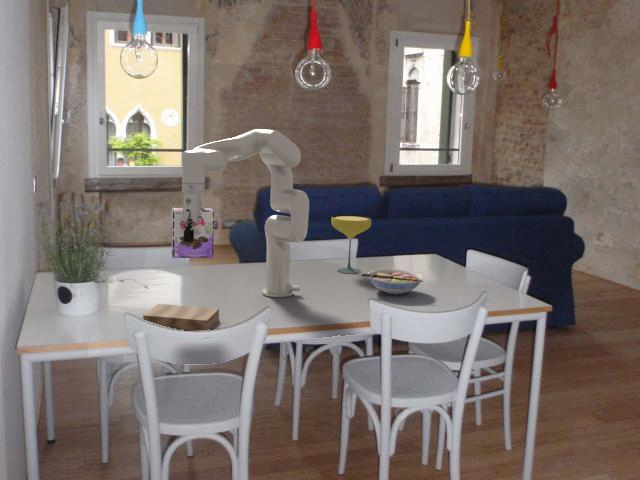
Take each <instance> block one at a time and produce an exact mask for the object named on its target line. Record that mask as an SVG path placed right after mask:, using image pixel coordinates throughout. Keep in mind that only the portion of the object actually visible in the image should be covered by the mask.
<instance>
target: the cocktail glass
mask: <svg viewBox="0 0 640 480" xmlns="http://www.w3.org/2000/svg"><path fill="white" fill-rule="evenodd" d="M330 221H331V226H332V227H333V228H334V229H335V230H337V231H338V232H340V233H342V234H344V235H345V237H347V239H348V240H349V244H348V261H347V266H346V267H341V268H340V267H339V268H337V269H338V271H340V272H344V273H343V274H345V273H356V274H359V273H358V272H360V273H361V270H360V269H359V268H355V267H352V266H351V246H352V245H351V244H352V240H353V239H354V238H355V237H356V236H357V235H359V234H361V233H364V232H365V231H367V230H369V229H370V228H371V226H372V218H371V217H369V216H366V215H362V214H347V213H345V214H334V215H333V216H331V220H330ZM338 271H337V272H338ZM340 272H339V273H340Z"/></svg>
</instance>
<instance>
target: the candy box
mask: <svg viewBox="0 0 640 480" xmlns="http://www.w3.org/2000/svg"><path fill="white" fill-rule="evenodd" d="M214 216H215V211H214V209H213V208H211V207H210V208H206V207H204V208H203V209H201V210H200V211H199V222H198V223H195V221H194V225H193V230H194V242H184V222H183V207H172V208H171V249H170V250H171V251H170V252H171V253H170V254H171V258H172V259H208V258H209V259H211V258H214V230H215V229H214V227H215V226H214V222H215V221H214V219H215V217H214ZM188 221H192V220H191V219H189V220H188ZM190 226H191V224H190Z"/></svg>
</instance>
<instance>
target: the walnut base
mask: <svg viewBox="0 0 640 480" xmlns="http://www.w3.org/2000/svg"><path fill="white" fill-rule="evenodd" d="M219 317H220V308H216V307H215V308H213V307H202V306H191V305H179V304H178V305H177V304H166V303H165V304H164V303H158V304H156V305H155V306H154V307H152V308H151V309H149V310H148V311H147V312H145V313H144V314H143V316H142V319H144V320H147V321H150V322H153V323H156V324H159V325H162V326H166V327H170V328H176V329H184V330H183V331H187V330H208V329H210V330H211V329H212V327H214V325H215V324H216V323H218V322H219V321H220V318H219Z"/></svg>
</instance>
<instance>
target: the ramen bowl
mask: <svg viewBox="0 0 640 480" xmlns="http://www.w3.org/2000/svg"><path fill="white" fill-rule="evenodd" d="M360 276H361V277H367V278H368V279H369V281H370V283H371V284H372V285H373V286H374V287H375V288H377V289H378V290H380V291H381V292H384V293H386V294H388V295H392V294H395V296H398V294H400V295H403V294H405V293H408V292H411V291H413V290H415V289H416V288H417V287H418V286H419V285H420V284H421V283H422V282H424V280H423V279H424V278H423V275H422V274H420V273H418V272H415V271H411V270H406V269H399V268H397V269H395V268H379V269H374V270H373V269H372V270H371V271H368V272H367V273H362V274H361V275H360Z"/></svg>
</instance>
